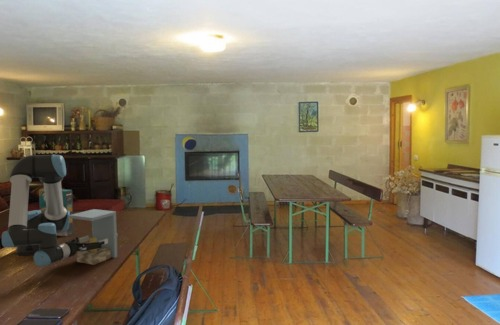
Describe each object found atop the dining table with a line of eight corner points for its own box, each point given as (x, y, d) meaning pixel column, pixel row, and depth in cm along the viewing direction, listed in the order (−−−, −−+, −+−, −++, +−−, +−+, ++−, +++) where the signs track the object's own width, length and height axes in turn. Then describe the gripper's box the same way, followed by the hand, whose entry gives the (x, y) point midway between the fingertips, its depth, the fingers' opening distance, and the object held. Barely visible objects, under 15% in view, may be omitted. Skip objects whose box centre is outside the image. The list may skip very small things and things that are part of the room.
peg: (88, 260, 212) (88, 238, 211) (93, 258, 215) (93, 236, 214) (93, 261, 210) (93, 239, 209) (98, 259, 213) (98, 237, 212)
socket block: (77, 261, 210) (76, 252, 209) (94, 255, 221) (93, 246, 220) (93, 264, 205) (93, 255, 204) (110, 257, 216) (110, 249, 215)
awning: (71, 262, 209) (69, 215, 206) (95, 253, 224) (94, 209, 222) (93, 266, 202) (92, 218, 200) (117, 256, 218) (116, 211, 215)
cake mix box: (40, 233, 265) (38, 189, 263) (47, 231, 271) (46, 188, 268) (67, 236, 259) (65, 191, 256) (73, 233, 265) (72, 189, 262)
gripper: (48, 254, 201) (81, 243, 220) (84, 261, 191) (115, 248, 210) (47, 240, 200) (80, 230, 219) (83, 246, 190) (115, 235, 209)
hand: (97, 239), depth 215 cm, fingers open, 13 cm apart
